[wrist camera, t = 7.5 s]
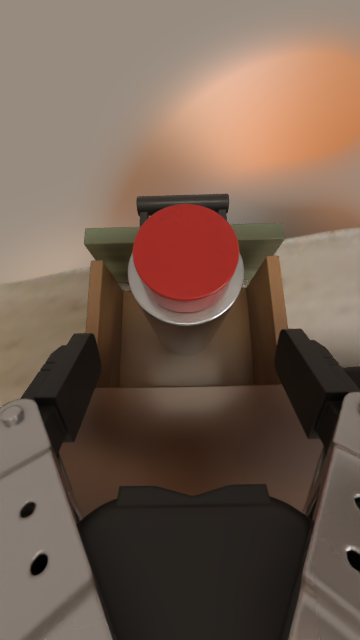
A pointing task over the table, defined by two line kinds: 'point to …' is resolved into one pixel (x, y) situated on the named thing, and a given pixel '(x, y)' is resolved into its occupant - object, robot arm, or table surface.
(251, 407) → the cabinet
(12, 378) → the table surface
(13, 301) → the table surface
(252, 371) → the drawer
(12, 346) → the table surface
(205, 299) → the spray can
